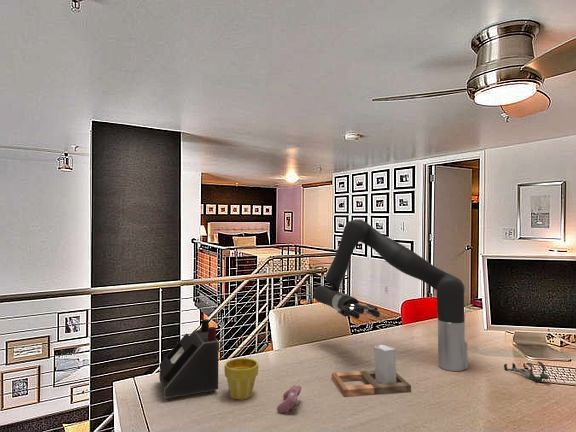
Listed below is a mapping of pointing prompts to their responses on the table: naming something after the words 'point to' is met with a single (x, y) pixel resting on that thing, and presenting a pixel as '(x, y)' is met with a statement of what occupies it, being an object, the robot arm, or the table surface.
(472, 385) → the table surface
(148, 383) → the table surface
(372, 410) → the table surface
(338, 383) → the brown flat frame
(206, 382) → the voltmeter
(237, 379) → the plant pot
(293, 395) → the video game controller
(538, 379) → the zombie figurine
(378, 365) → the skincare box
